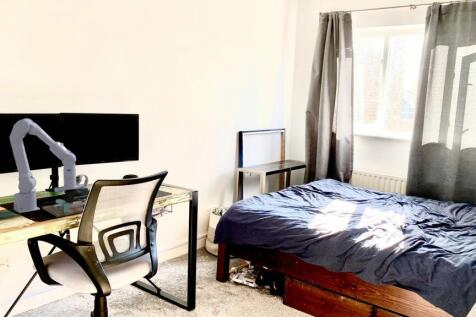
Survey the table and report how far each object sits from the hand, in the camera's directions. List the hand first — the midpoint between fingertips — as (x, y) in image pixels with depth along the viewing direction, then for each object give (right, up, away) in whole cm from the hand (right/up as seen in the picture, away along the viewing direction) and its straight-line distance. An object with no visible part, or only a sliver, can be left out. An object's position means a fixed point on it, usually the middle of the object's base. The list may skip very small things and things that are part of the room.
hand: (70, 204), depth 208 cm
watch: (-5, +3, +29) cm, 30 cm away
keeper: (-1, -2, -8) cm, 8 cm away
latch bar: (+2, -1, -2) cm, 3 cm away
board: (+1, -2, -1) cm, 3 cm away
